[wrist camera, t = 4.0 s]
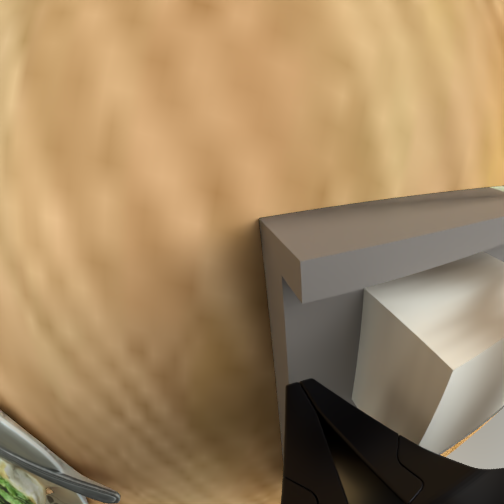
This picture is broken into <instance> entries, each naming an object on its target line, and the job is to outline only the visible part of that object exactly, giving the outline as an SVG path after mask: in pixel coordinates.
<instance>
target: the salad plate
mask: <svg viewBox="0 0 504 504" xmlns="http://www.w3.org/2000/svg"><path fill="white" fill-rule="evenodd" d="M47 488H50V489H51V490H52V491H53V492H54V493H51V494H48V495H46V489H47ZM86 497H88V498H91V499H94V500H97V501H100V502H103V503H108V504H109V503H118V502H119V501H120V494H119V493H118V492H116V491H115V490H113V489H111V488H109V487H106V486H104V485H102V484H100V483H98V482H95V481H93V480H91V479H89V478H87V477H85V476H83V475H82V474H80V473H79V472H77V471H76V470H74V469H73V468H72V467H71V466H69V465H68V464H67V463H66V462H65V461H63V460H62V459H61V458H60V457H58V456H57V455H56V454H54V453H53V452H52V451H50V450H49V449H48V448H47V447H46V446H45V445H44V444H42V443H41V442H40V441H39V440H37V439H36V438H35V437H33V436H32V435H31V434H30V433H28V432H27V431H26V430H25V429H23V428H22V427H21V426H20V425H18V424H17V423H16V422H15V421H14V420H12V419H11V418H10V417H9V416H8V415H7V414H5V413H4V412H3V411H2V410H0V504H88V501H87V498H86Z"/></svg>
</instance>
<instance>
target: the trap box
mask: <svg viewBox="0 0 504 504" xmlns="http://www.w3.org/2000/svg"><path fill="white" fill-rule="evenodd" d="M259 224H260V233H261V242H262V251H263V261H264V270H265V279H266V289H267V299H268V308H269V318H270V328H271V338H272V348H273V358H274V369H275V379H276V389H277V400H278V411H279V421H280V432H281V443H282V455H283V460H284V427H285V386H286V385H287V384H291V383H295V382H300V381H302V380H305V379H309V378H313V379H315V380H316V381H318V382H319V383H321V384H322V385H324V386H325V387H326V388H328V389H329V390H331V391H332V392H334V393H335V394H337V395H338V396H340V397H341V398H343V399H344V400H346V401H347V402H349V403H350V404H352V405H354V406H355V407H357V406H356V405H355V403H354V402H353V400H352V393H353V387H354V380H355V373H356V366H357V358H358V350H359V341H360V331H361V321H362V310H363V296H364V288H367V287H370V286H374V285H377V284H381V283H385V282H388V281H391V280H395V279H398V278H402V277H405V276H408V275H412V274H415V273H418V272H422V271H425V270H428V269H431V268H434V267H437V266H441V265H444V264H447V263H450V262H453V261H456V260H459V259H462V258H465V257H468V256H471V255H474V254H476V253H479V252H482V251H483V252H485V253H487V254H489V255H491V256H493V257H495V258H497V259H499V260H501V261H502V262H504V186H497V187H487V188H477V189H467V190H458V191H449V192H440V193H432V194H423V195H415V196H407V197H399V198H391V199H384V200H376V201H369V202H362V203H355V204H348V205H341V206H334V207H327V208H320V209H314V210H307V211H301V212H294V213H288V214H282V215H275V216H269V217H263V218H259ZM503 407H504V405H503V406H502V407H501V408H500V409H499V410H498V411H496V412H495V413H494V414H493V415H492V416H490V417H489V418H488V419H487V420H485V421H484V422H483V423H481V424H480V425H479V426H478V427H476V428H475V429H474V430H472V431H471V432H470V433H468V434H467V435H465V436H464V437H463V438H461V439H460V440H458V441H457V442H455V443H454V444H452V445H451V446H449V447H448V448H446V449H445V450H443V451H442V452H440V453H439V455H440V454H442V453H443V452H445V451H446V450H448V449H449V448H451V447H452V446H454V445H455V444H457V443H458V442H460V441H461V440H463V439H464V438H465V437H467V436H468V435H469V434H471V433H472V432H474V431H475V430H476V429H478V428H479V427H480V426H481V425H483V424H484V423H485V422H486V421H488V420H489V419H490V418H491V417H493V416H494V415H495V414H496V413H497V412H499V411H500V410H501V409H502V408H503Z"/></svg>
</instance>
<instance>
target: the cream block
mask: <svg viewBox="0 0 504 504" xmlns="http://www.w3.org/2000/svg"><path fill="white" fill-rule="evenodd" d="M352 400H353V402H354V403H355V405H356V406H357V408H358V409H360V410H361V411H363V412H364V413H366V414H367V415H369V416H371V417H372V418H374V419H375V420H377V421H379V422H380V423H382V424H383V425H385V426H387V427H388V428H390V429H392V430H393V431H395V432H396V433H398V436H399V435H402V436H403V437H405V438H407V439H408V440H410V441H412V442H414V443H415V444H417V445H419V446H421V447H423V448H425V449H427V450H429V451H432V452H434V453H436V454H439V453H440V452H442V451H443V450H445V449H446V448H448V447H449V446H451V445H452V444H454V443H455V442H457V441H458V440H460V439H461V438H463V437H464V436H465V435H467V434H468V433H470V432H471V431H472V430H474V429H475V428H476V427H478V426H479V425H480V424H481V423H483V422H484V421H485V420H487V419H488V418H489V417H490V416H492V415H493V414H494V413H495V412H496V411H498V410H499V409H500V408H501V407H502V406H503V405H504V262H502V261H501V260H499V259H497V258H495V257H493V256H491V255H489V254H487V253H485V252H483V251H482V252H479V253H476V254H474V255H471V256H468V257H465V258H462V259H459V260H456V261H453V262H450V263H447V264H444V265H441V266H437V267H434V268H431V269H428V270H425V271H422V272H418V273H415V274H412V275H408V276H405V277H402V278H398V279H395V280H391V281H388V282H385V283H381V284H377V285H374V286H370V287H367V288H364V296H363V310H362V321H361V331H360V341H359V350H358V358H357V366H356V373H355V380H354V387H353V393H352Z"/></svg>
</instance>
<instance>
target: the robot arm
mask: <svg viewBox="0 0 504 504" xmlns="http://www.w3.org/2000/svg"><path fill="white" fill-rule="evenodd" d="M281 504H504V468H501V469H478V468H473V467H470V466H467V465H464V464H462V463H459V462H456V461H454V460H451V459H449V458H446V457H444V456H441V455H439V454H436V453H434V452H432V451H429V450H427V449H425V448H423V447H421V446H419V445H417V444H415V443H414V442H412V441H410V440H408V439H407V438H405V437H403V436H402V435H399V436H398V433H396V432H395V431H393V430H392V429H390V428H388V427H387V426H385V425H383V424H382V423H380V422H379V421H377V420H375V419H374V418H372V417H371V416H369V415H367V414H366V413H364V412H363V411H361V410H360V409H358V408H357V407H355V406H354V405H352V404H350V403H349V402H347V401H346V400H344V399H343V398H341V397H340V396H338V395H337V394H335V393H334V392H332V391H331V390H329V389H328V388H326V387H325V386H324V385H322V384H321V383H319V382H318V381H316V380H315V379H313V378H309V379H305V380H302V381H300V382H295V383H291V384H287V385H286V386H285V427H284V460H283V481H282V496H281Z"/></svg>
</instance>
